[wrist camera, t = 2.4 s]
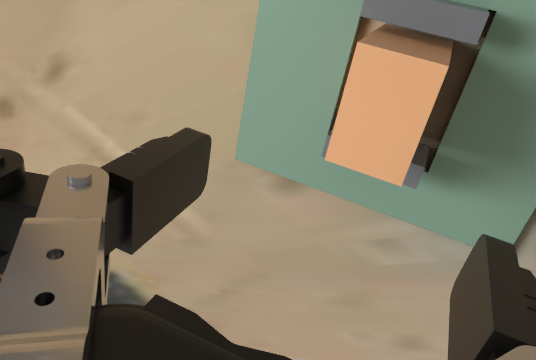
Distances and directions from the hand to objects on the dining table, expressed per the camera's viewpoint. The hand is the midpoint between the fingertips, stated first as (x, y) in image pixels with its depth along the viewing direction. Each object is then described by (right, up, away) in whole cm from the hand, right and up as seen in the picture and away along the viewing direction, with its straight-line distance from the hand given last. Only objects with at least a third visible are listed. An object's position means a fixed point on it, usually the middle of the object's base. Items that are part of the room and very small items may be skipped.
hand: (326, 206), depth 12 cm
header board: (+7, +7, +14) cm, 17 cm away
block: (+7, +7, +14) cm, 17 cm away
